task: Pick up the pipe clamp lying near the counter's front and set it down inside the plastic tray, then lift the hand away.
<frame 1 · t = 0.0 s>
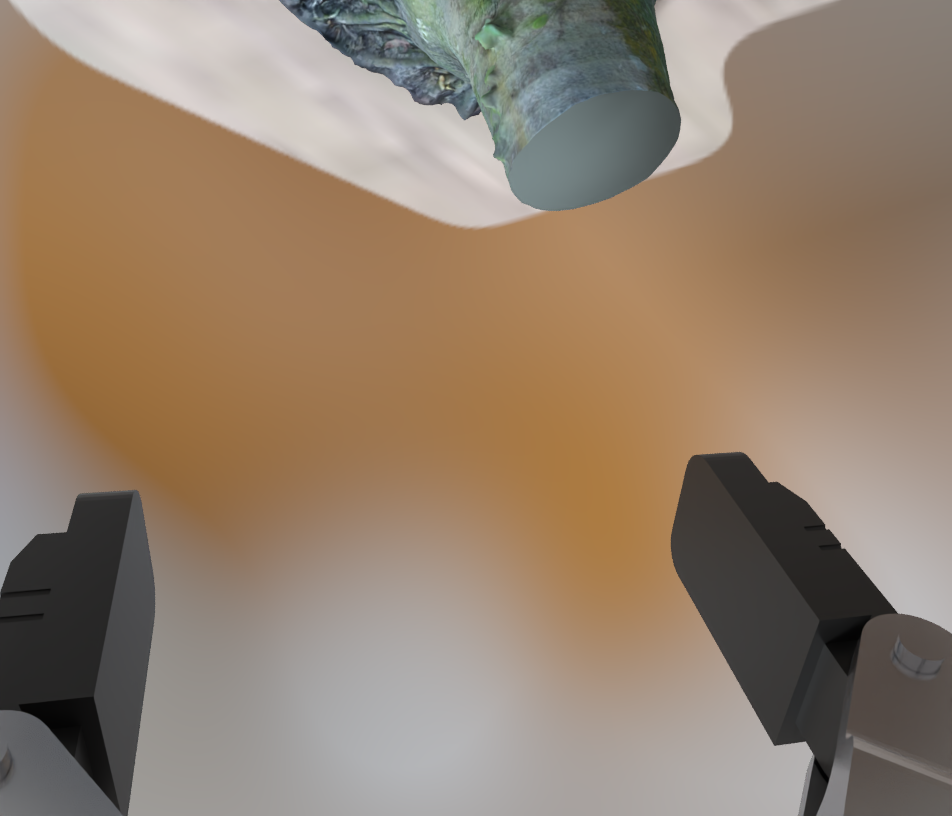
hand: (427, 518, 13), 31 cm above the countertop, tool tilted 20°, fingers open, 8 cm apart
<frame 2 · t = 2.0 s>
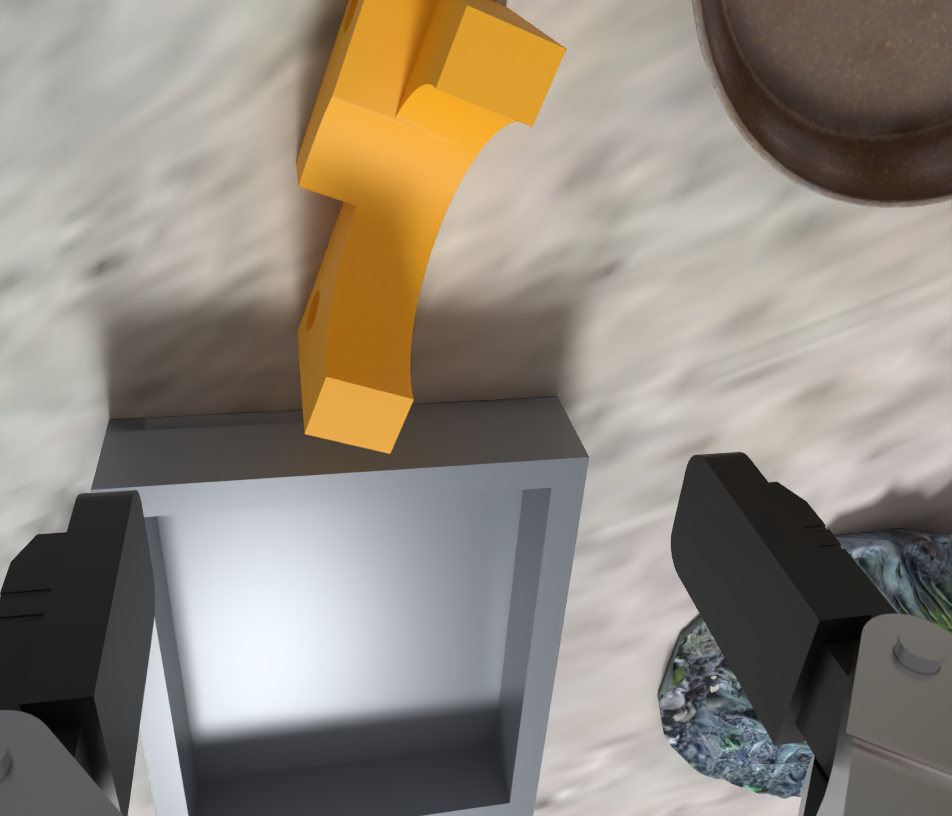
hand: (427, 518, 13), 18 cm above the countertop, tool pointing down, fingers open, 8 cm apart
tree stump: (847, 647, 47), on the countertop
pipe clamp: (366, 168, 29), on the countertop
tray: (347, 610, 38), on the countertop
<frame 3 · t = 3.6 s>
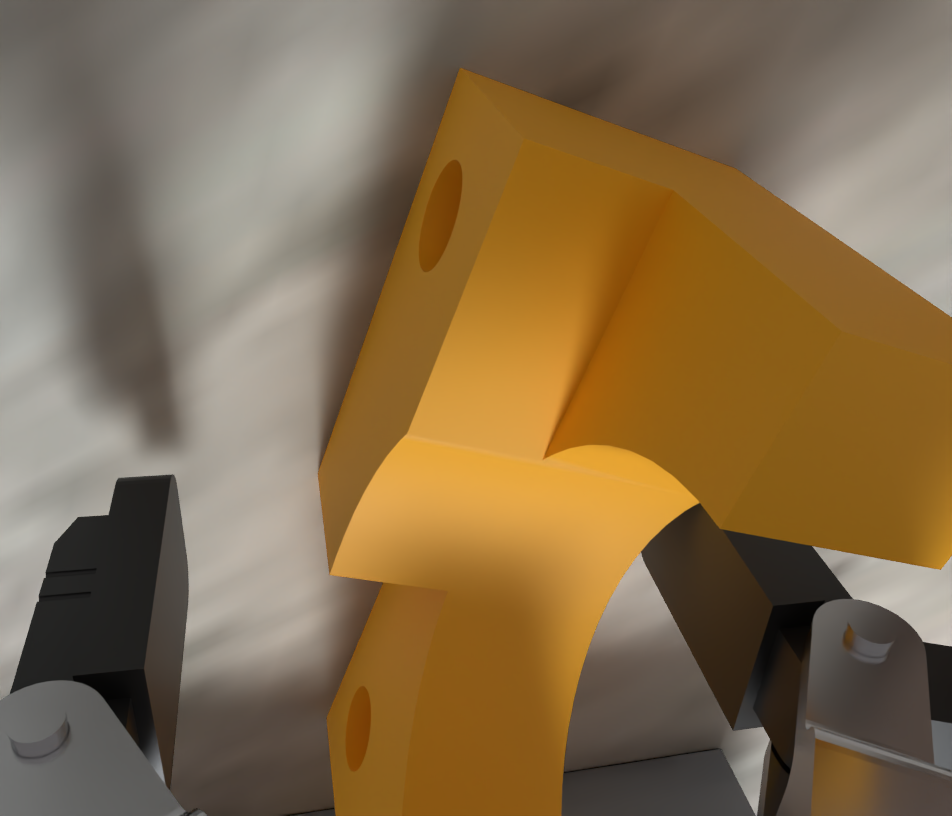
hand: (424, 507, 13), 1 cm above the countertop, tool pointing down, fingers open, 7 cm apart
pipe clamp: (451, 464, 15), on the countertop, touching gripper
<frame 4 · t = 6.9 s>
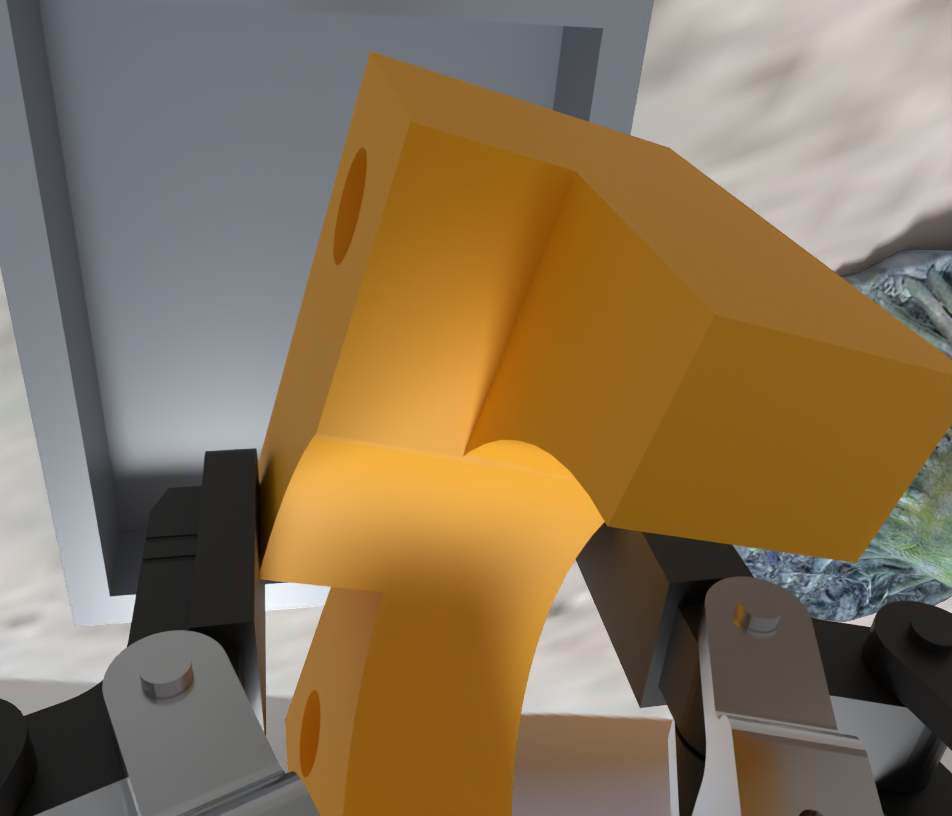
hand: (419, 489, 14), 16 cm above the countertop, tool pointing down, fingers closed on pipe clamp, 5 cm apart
tree stump: (905, 427, 38), on the countertop
pipe clamp: (395, 461, 15), point 15 cm above the countertop, touching gripper
tray: (317, 287, 29), on the countertop
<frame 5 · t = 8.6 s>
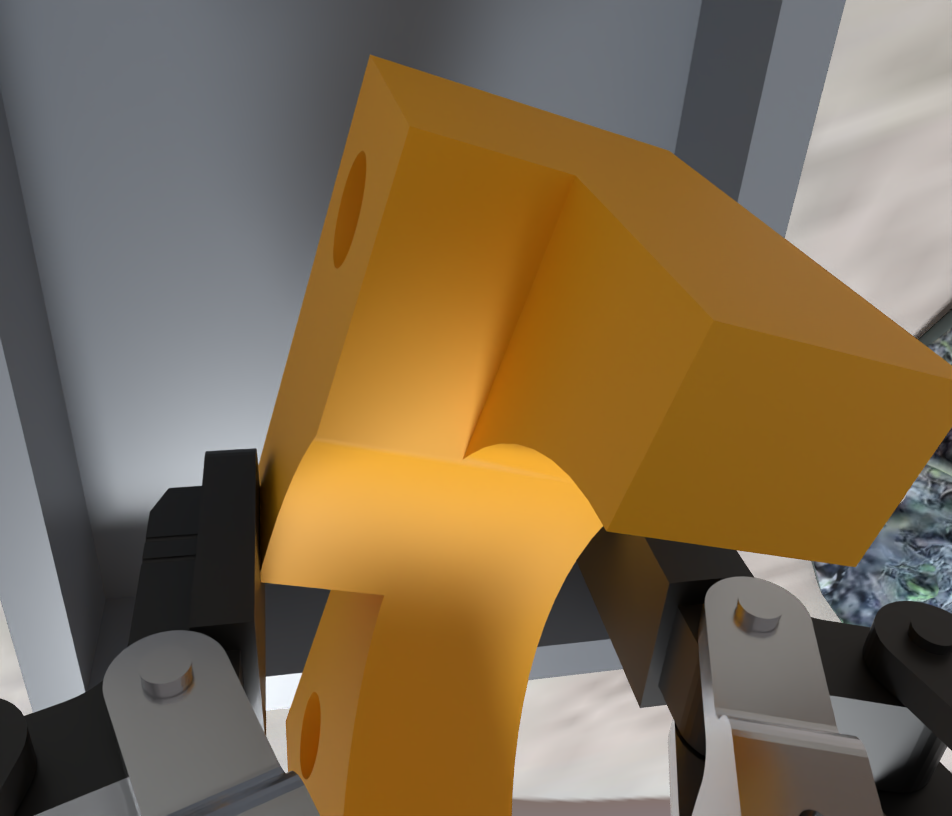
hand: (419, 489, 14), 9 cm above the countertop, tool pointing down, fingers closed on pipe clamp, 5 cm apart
pipe clamp: (395, 464, 15), point 8 cm above the countertop, touching gripper
tray: (364, 266, 21), on the countertop
when the fingers open (3 cm above the countertop, at t = 10.0 s): pipe clamp drops 1 cm, resting on tray.
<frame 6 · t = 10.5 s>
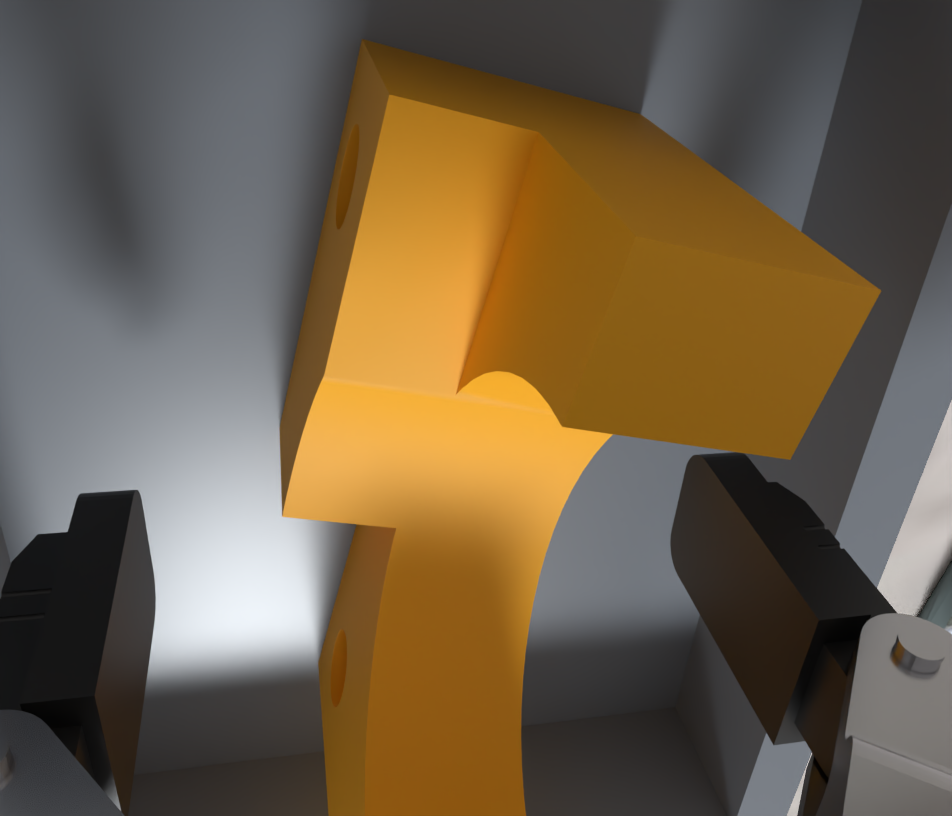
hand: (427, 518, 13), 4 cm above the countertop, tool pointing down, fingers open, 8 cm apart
pipe clamp: (406, 416, 16), point 1 cm above the countertop, touching tray
tray: (395, 387, 16), on the countertop
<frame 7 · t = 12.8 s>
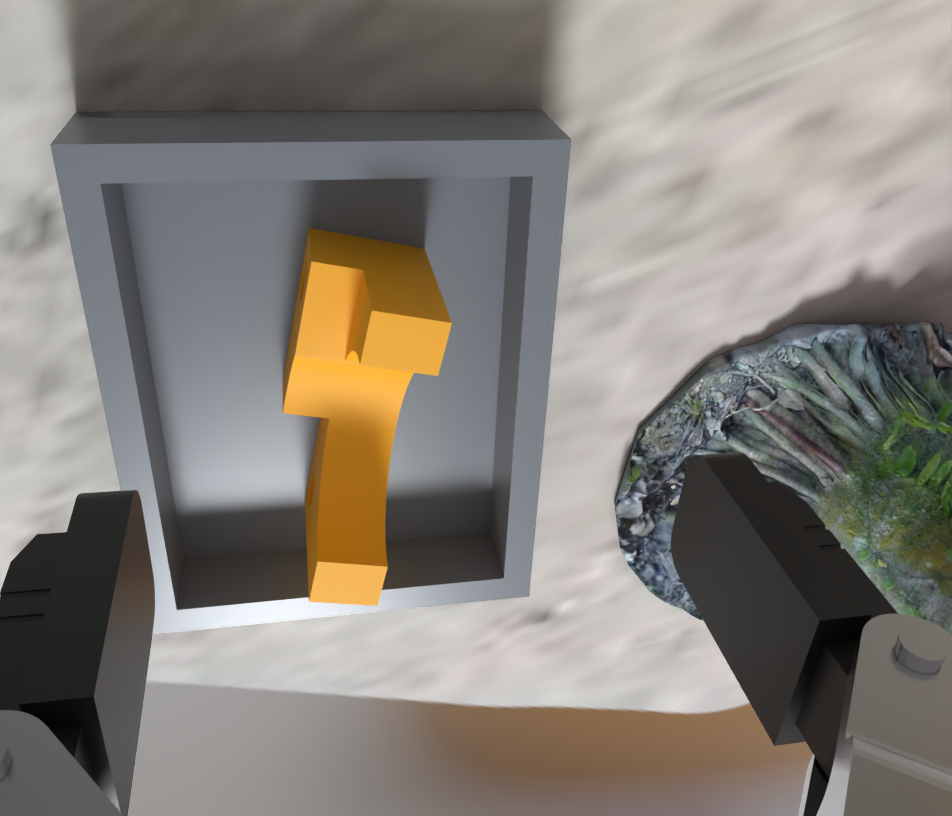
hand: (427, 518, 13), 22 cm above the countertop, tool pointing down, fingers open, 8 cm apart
tree stump: (813, 467, 45), on the countertop
pipe clamp: (338, 376, 36), point 1 cm above the countertop, touching tray
tray: (331, 363, 37), on the countertop
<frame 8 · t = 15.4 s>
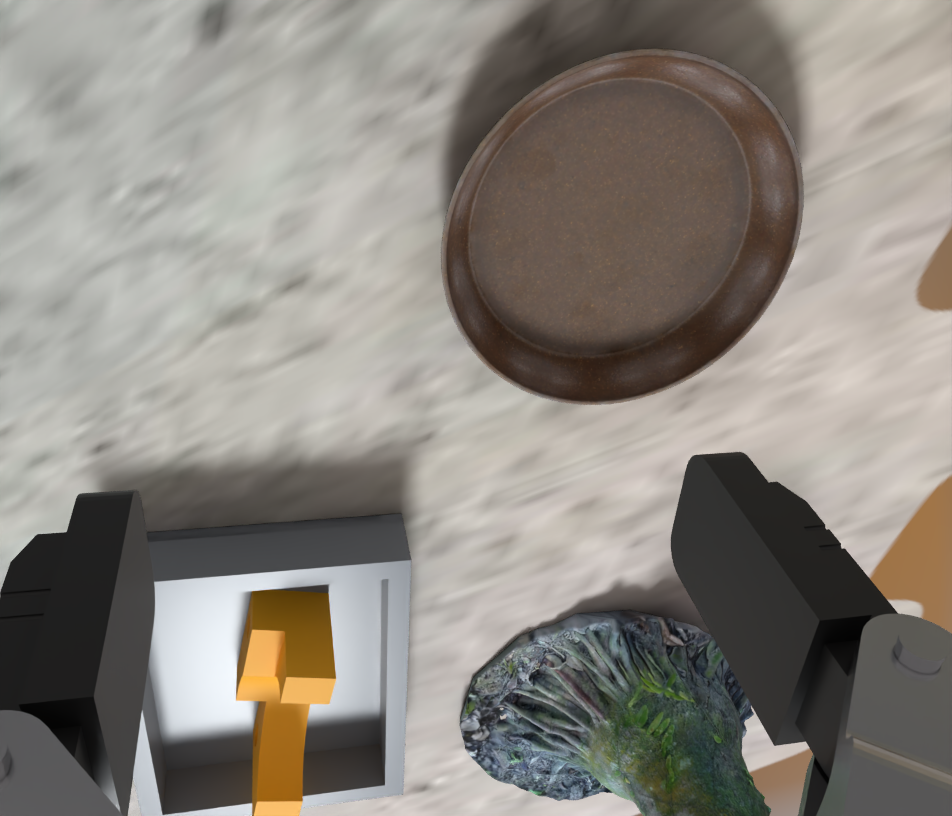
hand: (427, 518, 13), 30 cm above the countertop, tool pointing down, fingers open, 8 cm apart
tree stump: (603, 691, 64), on the countertop
plant saucer: (606, 223, 45), on the countertop
pipe clamp: (274, 662, 55), point 1 cm above the countertop, touching tray
tray: (268, 652, 55), on the countertop
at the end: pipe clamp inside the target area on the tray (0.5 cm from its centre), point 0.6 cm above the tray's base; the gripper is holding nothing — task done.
